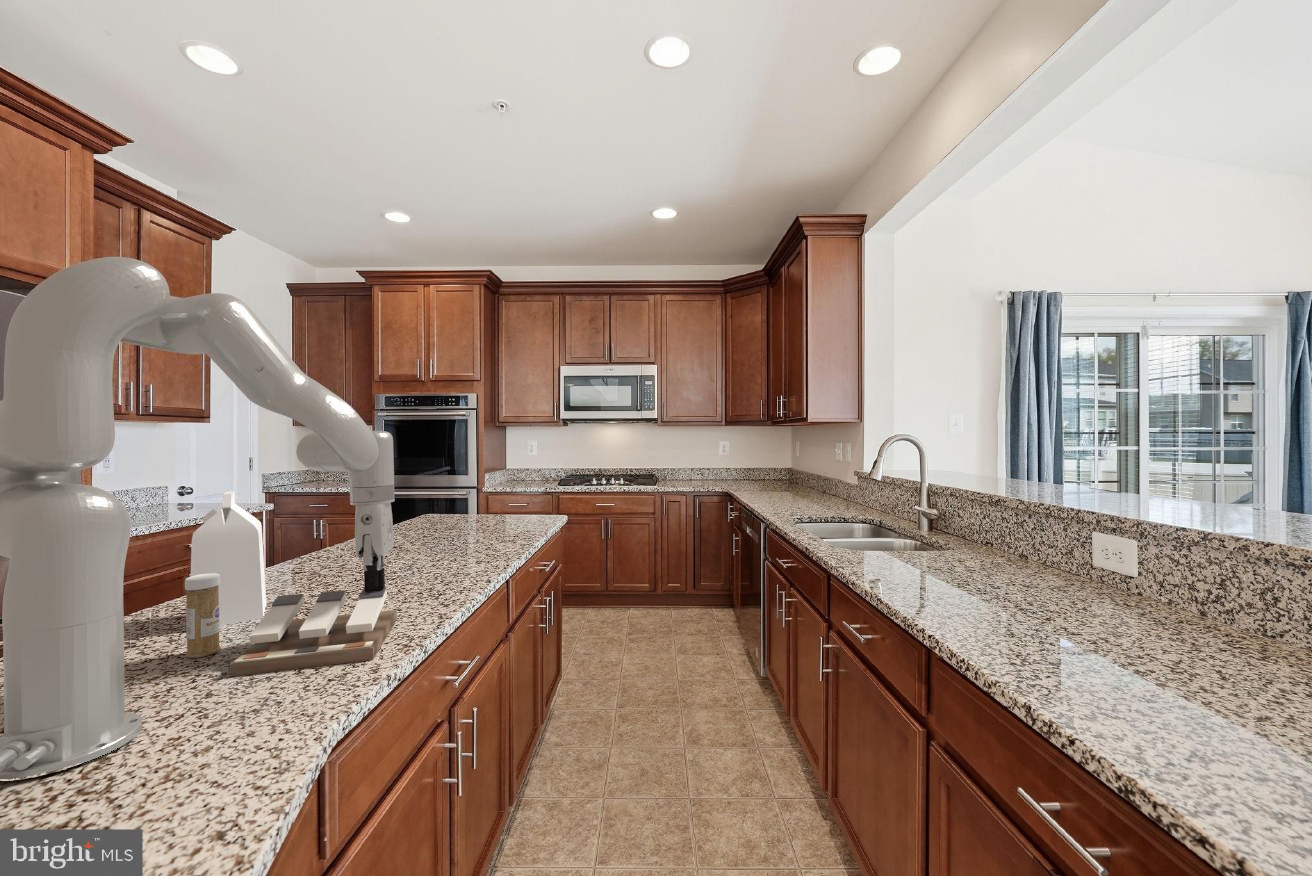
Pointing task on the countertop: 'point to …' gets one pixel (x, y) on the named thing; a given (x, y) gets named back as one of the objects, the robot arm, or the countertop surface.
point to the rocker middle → (323, 614)
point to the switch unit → (315, 647)
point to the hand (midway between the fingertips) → (374, 590)
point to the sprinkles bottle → (202, 615)
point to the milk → (232, 560)
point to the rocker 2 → (366, 611)
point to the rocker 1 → (277, 619)
